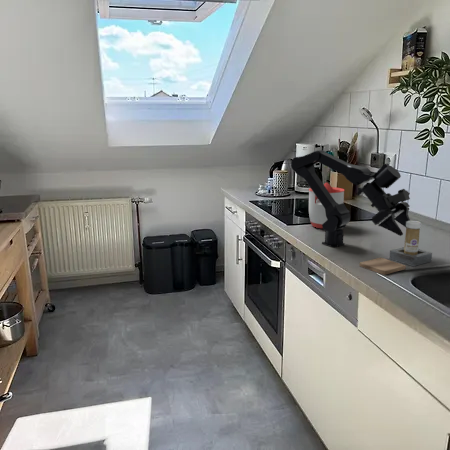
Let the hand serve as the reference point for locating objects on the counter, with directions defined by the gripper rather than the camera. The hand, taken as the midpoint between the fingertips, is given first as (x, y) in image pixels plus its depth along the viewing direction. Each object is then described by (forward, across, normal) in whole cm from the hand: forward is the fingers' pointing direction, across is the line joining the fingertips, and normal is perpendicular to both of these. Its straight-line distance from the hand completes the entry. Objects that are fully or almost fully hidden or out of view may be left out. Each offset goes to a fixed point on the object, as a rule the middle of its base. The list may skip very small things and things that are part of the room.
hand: (407, 232), depth 144 cm
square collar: (+8, 0, +6) cm, 10 cm away
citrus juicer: (-25, +23, +38) cm, 51 cm away
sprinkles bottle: (+8, 0, +6) cm, 10 cm away
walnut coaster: (+5, -14, +8) cm, 17 cm away
